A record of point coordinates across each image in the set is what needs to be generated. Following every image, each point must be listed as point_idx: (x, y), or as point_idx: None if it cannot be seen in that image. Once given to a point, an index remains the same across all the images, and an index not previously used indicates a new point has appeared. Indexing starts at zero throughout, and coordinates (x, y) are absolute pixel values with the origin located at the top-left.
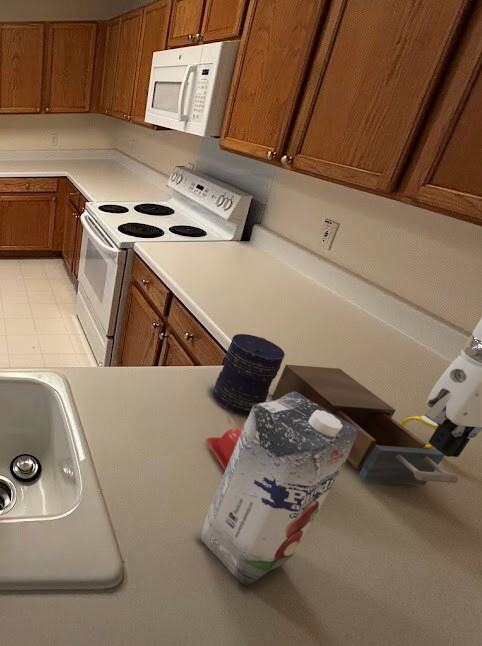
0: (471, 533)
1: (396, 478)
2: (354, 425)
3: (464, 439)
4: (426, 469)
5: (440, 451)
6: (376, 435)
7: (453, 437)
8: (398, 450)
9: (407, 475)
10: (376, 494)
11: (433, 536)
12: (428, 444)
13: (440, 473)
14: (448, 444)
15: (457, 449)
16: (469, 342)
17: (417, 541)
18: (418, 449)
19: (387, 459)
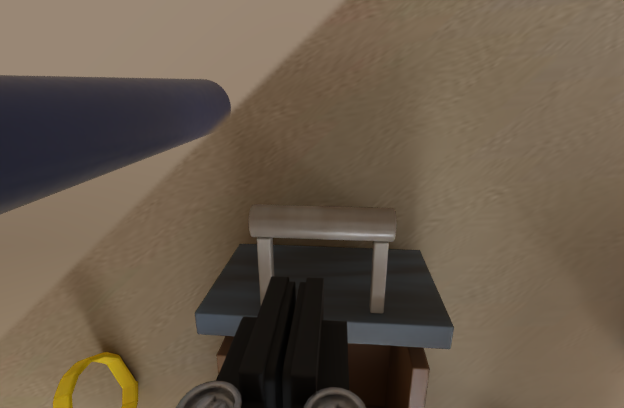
0: (239, 109)
1: (328, 254)
2: None
3: (269, 369)
4: (249, 273)
5: (323, 307)
6: None
7: (319, 384)
8: (375, 327)
9: (300, 260)
10: (402, 215)
11: (366, 91)
12: (99, 362)
13: (307, 231)
14: (323, 338)
15: (289, 308)
16: None
17: (435, 71)
18: None
19: (401, 298)
